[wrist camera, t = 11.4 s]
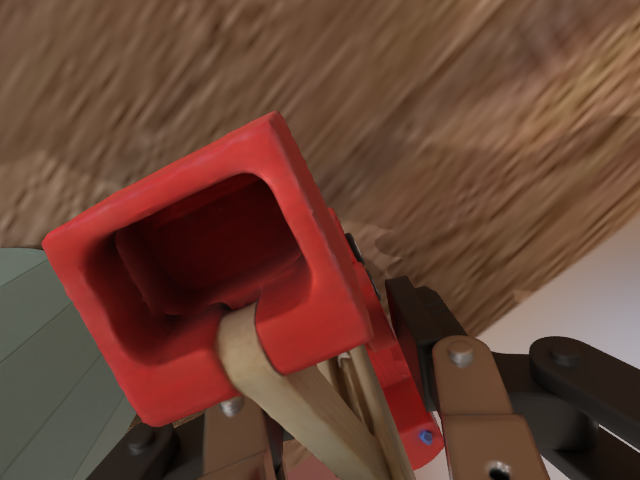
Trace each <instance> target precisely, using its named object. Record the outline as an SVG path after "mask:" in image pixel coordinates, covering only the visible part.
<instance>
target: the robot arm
mask: <svg viewBox="0 0 640 480" xmlns="http://www.w3.org/2000/svg"><path fill="white" fill-rule="evenodd" d="M385 287H386V293H387V298H388V304H389V310H390V316H391V321H392V325H393V329H394V332H395V335H396V338H397V340H398V343H399V345H400V348H401V350H402V353H403V355H404V358H405V360H406V363H407V365H408V368H409V370H410V373H411V375H412V378H413V380H414V382H415V385H416V387H417V390H418V392H419V395H420V397H421V400H422V402H423V405H424V407H425V410H426V412H432V411H437V412H438V414H439V417H440V419H441V424H442V432H443V439H444V445H445V452H446V458H447V465H448V471H449V478H450V480H550V477H549V475H548V472H547V470H546V467H545V465H544V463H543V460H542V458H541V455H542V456H543V457H544V458H545V459H547V460H548V461H549V462H550V463H551V464H553V465H554V466H555V467H556V468H557V469H559V470H560V471H561V472H562V473H563V474H564V475H566V476H567V477H568V478H569V479H570V480H640V453H639V452H637V451H636V450H634V449H632V448H631V447H629V446H628V445H627V444H625V443H624V442H622V441H620V440H619V439H618V438H616V437H615V436H613V435H612V434H610V433H608V432H607V431H605V430H604V429H602V428H601V427H599V424H600V425H602V426H603V427H605V428H606V429H608V430H609V431H611V432H612V433H614V434H615V435H617V436H619V437H620V438H622V439H623V440H625V441H626V442H628V443H629V444H631V445H632V446H634V447H635V448H637V449H638V450H640V370H639V369H637V368H635V367H633V366H631V365H629V364H627V363H625V362H623V361H621V360H619V359H617V358H615V357H613V356H610V355H608V354H606V353H604V352H602V351H600V350H598V349H596V348H594V347H592V346H590V345H588V344H586V343H584V342H581V341H579V340H575V339H572V338H568V337H560V336H551V337H544V338H541V339H538V340H536V341H535V342H533V344H532V345H531V347H530V350H529V354H503V353H496V352H492V351H490V349H489V347H488V346H487V345H486V344H485V343H484V342H482V341H480V340H478V339H476V338H473V337H469V336H468V335H467V333H466V332H465V331H464V329H463V328H462V327H461V325H460V324H459V322H458V321H457V320H456V318H455V317H454V316H453V314H452V313H451V311H449V309H448V307H447V306H446V304H445V303H443V300H442V299H441V298H440V296H439V295H438V293H437V292H435V291H433V290H431V289H430V288H428V287H426V286H424V287H419V288H414V287H413V285H412V284H411V282H410V281H409V279H408V277H407V276H401V277H397V278H392V279H388V280H385ZM292 439H295V438H294V437H293V436H292V435H291V434H290V433H289V432H288V431H286V430H285V429H284V428H283V427H282V426H281V425H280V424H279V423H278V422H277V421H276V420H274V419H273V418H271V417H270V416H269V414H268V413H267V412H266V411H265V410H264V409H262V408H261V407H260V406H259V405H258V404H257V403H256V402H255V401H254V400H253V399H251V398H249V397H247V396H245V395H241V396H237V397H234V398H232V399H229V400H226V401H223V402H220V403H218V404H216V405H214V406H212V407H210V408H207V409H205V413H204V414H203V415H201V416H199V417H197V418H195V419H193V420H191V421H189V422H187V423H185V424H183V425H180V426H178V427H176V428H174V426H173V424H172V423H169V424H167V425H164V426H161V427H152V426H149V425H148V424H146V423H140V424H138V425H137V426H135V427H134V428H133V429H131V430H130V431H129V432H128V433H127V434H126V435H125V436H124V437H123V438H122V439H121V440H120V441H119V442H118V443H117V444H116V445H115V447H114V448H113V449H112V450H111V451H110V452H109V453H108V455H107V456H106V457H105V458H104V459H103V460H102V461H101V462H100V464H99V465H98V466H97V467H96V468H95V469H94V470H93V471H92V473H91V474H90V475H89V476H88V477H87V478H86V479H85V480H288V477H287V472H286V467H285V463H284V460H283V457H282V454H283V441H287V440H292ZM540 454H541V455H540Z"/></svg>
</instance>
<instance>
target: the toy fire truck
mask: <svg viewBox="0 0 640 480" xmlns="http://www.w3.org/2000/svg"><path fill="white" fill-rule="evenodd" d="M41 244H42V247H43V249H44V251H45V254H46V256H47V258H48V260H49V262H50V264H51V266H52V268H53V270H54V271H55V273H56V275H57V276H58V278H59V279H60V281H61V283H62V284H63V286H64V289H65V292H66V295H67V296H68V297H69V298H70V299H71V300H72V301H73V304H74V307H75V308H76V309H77V310H78V311H79V312H80V315H81V318H82V320H83V321H84V323H85V325H86V327H87V328H88V330H89V332H90V333H91V335H92V337H93V338H94V340H95V341H96V343H97V346H98V349H99V350H100V351H101V353H102V355H103V357H104V359H105V361H106V362H107V364H108V365H109V367H110V368H111V370H112V371H113V373H114V376H115V378H116V380H117V382H118V384H119V386H120V388H121V389H122V390H123V391H124V393H125V395H126V397H127V399H128V401H129V402H130V404H131V406H132V407H133V408H134V409H135V411H136V413H137V415H138V416H139V417H141V420H142V423H146V424H148V425H149V426H152V427H161V426H164V425H167V424H169V423H172V422H174V421H177V420H179V419H182V418H184V417H186V416H188V415H191V414H194V413H196V412H199V411H201V410H204V409H207V408H210V407H212V406H214V405H216V404H218V403H220V402H223V401H226V400H229V399H232V398H234V397H237V396H241V395H245V396H247V397H249V398H251V399H253V400H254V401H255V402H256V403H257V404H258V405H259V406H260V407H261V408H262V409H264V410H265V411H266V412H267V413H268V414H269V416H270V417H271V418H273V419H274V420H276V421H277V422H278V423H279V424H280V425H281V426H282V427H283V428H284V429H285V430H286V431H288V432H289V433H290V434H291V435H292V436H293V437H294V438H295V439H296V440H298V441H299V442H300V443H301V444H302V445H303V446H305V447H306V448H307V450H309V451H310V452H312V453H313V455H314V456H315V457H316V458H318V459H319V460H320V461H321V462H322V463H323V464H325V465H326V466H327V467H328V468H329V469H330V470H331V471H332V472H333V473H334V474H335V475H336V477H338V478H340V479H341V480H416V478H415V475H414V472H413V471H414V470H416V469H419V468H421V467H423V466H424V465H426V464H427V463H429V462H430V461H432V460H433V459H434V458H435V457H436V456H437V455H438V454H439V453H440V451H441V450H442V449H443V448H444V446H445V445H444V439H443V436H442V434H441V431H440V428H439V426H438V424H437V421H436V419H435V417H434V415H433V412H426V410H425V407H424V405H423V402H422V400H421V397H420V395H419V392H418V390H417V387H416V385H415V382H414V380H413V378H412V375H411V373H410V370H409V368H408V365H407V363H406V360H405V358H404V355H403V353H402V350H401V348H400V345H399V343H398V340H397V338H396V335H395V332H394V330H393V328H392V326H391V324H390V322H389V320H388V318H387V316H386V314H385V312H384V310H383V308H382V306H381V304H380V302H379V301H380V300H381V296H380V294H379V291H378V289H377V287H376V285H375V283H374V281H373V279H372V277H371V274H370V273H369V271H368V270H367V269H365V268H364V266H363V265H364V259H363V256H362V254H361V252H360V250H359V248H358V246H357V244H356V242H355V240H354V238H353V236H352V235H351V234H350V233H346V234H344V231H343V229H342V226H341V223H340V221H339V219H338V217H337V215H336V213H335V211H334V209H333V208H327V206H326V204H325V201H324V199H323V197H322V195H321V193H320V190H319V188H318V186H317V185H316V184H315V182H314V180H313V177H312V175H311V173H310V171H309V169H308V168H307V165H306V161H305V160H304V158H303V157H302V155H301V153H300V150H299V147H298V145H297V144H296V142H295V140H294V139H293V137H292V135H291V132H290V130H289V128H288V126H287V124H286V122H285V120H284V118H283V116H282V115H281V114H280V112H278V111H273V112H270V113H268V114H266V115H264V116H262V117H260V118H257V119H255V120H253V121H251V122H250V123H248V124H246V125H244V126H242V127H240V128H238V129H236V130H234V131H232V132H229V133H228V134H227V135H225V136H224V137H222V138H220V139H218V140H216V141H214V142H212V143H211V144H209V145H207V146H205V147H203V148H201V149H199V150H197V151H195V152H193V153H191V154H189V155H187V156H185V157H183V158H181V159H179V160H177V161H175V162H173V163H171V164H169V165H167V166H166V167H164V168H162V169H160V170H158V171H156V172H154V173H152V174H151V175H149V176H147V177H145V178H143V179H141V180H139V181H137V182H135V183H133V184H132V185H130V186H128V187H126V188H124V189H122V190H120V191H117V192H115V193H113V194H112V195H110V196H109V197H107V198H106V199H105V200H103V201H101V202H100V203H98V204H96V205H94V206H93V207H91V208H89V209H88V210H86V211H84V212H83V213H81V214H79V215H78V216H76V217H75V218H73V219H72V220H70V221H69V222H67V223H65V224H63V225H62V226H60V227H58V228H56V229H55V230H53V231H51V232H50V233H48V234H47V235H46V237H45V238H44V240H43V242H42V243H41Z"/></svg>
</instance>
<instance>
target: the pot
mask: <svg viewBox="0 0 640 480" xmlns="http://www.w3.org/2000/svg"><path fill="white" fill-rule="evenodd" d="M136 414H137V413H136V411H135V409H134V408H133V407H132V406H131V404H130V402H129V401H128V399H127V397H126V395H125V393H124V391H123V390H122V389H121V388H120V386H119V384H118V382H117V380H116V378H115V376H114V373H113V371H112V370H111V368H110V367H109V365H108V364H107V362H106V361H105V359H104V357H103V355H102V353H101V351H100V350H99V349H98V346H97V343H96V341H95V340H94V338H93V337H92V335H91V333H90V332H89V330H88V328H87V327H86V325H85V323H84V321H83V320H82V318H81V315H80V312H79V311H78V310H77V309H76V308H75V307H74V304H73V301H72V300H71V299H70V298H69V297H68V296H67V295H66V292H65V289H64V286H63V284H62V283H61V281H60V279H59V278H58V276H57V275H56V273H55V271H54V270H53V268H52V266H51V264H50V262H49V260H48V258H47V256H46V254H45V251H44V250H38V249H30V248H0V480H85V479H86V478H87V477H88V476H89V475H90V474H91V473H92V471H93V470H94V469H95V468H96V467H97V466H98V465H99V464H100V462H101V461H102V460H103V459H104V458H105V457H106V456H107V455H108V453H109V452H110V451H111V450H112V449H113V448H114V447H115V445H116V444H117V443H118V442H119V441H120V440H121V439H122V438H123V437H124V435H125V434H126V432H127V430H128V428H129V426H130V425H131V423H132V421H133V419H134V417H135V415H136Z"/></svg>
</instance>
